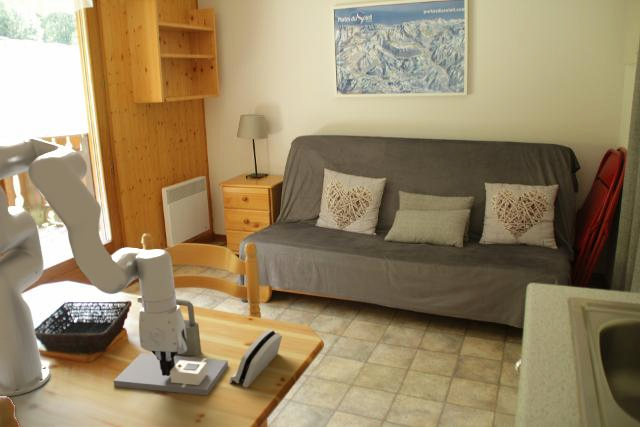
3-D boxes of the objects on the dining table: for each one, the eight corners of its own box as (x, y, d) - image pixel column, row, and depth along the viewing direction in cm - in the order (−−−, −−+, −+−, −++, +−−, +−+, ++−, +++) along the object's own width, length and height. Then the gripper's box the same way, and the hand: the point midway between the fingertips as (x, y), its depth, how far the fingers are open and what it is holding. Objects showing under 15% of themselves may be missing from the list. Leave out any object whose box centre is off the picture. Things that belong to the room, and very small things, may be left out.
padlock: (176, 345, 151) (170, 295, 147) (202, 349, 148) (197, 298, 144) (168, 353, 147) (161, 301, 143) (195, 357, 145) (189, 304, 140)
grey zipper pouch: (260, 350, 147) (270, 319, 143) (276, 358, 146) (286, 327, 142) (228, 384, 132) (237, 351, 128) (245, 393, 131) (255, 360, 127)
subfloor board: (114, 386, 133) (113, 380, 132) (142, 358, 145) (141, 352, 145) (207, 395, 128) (206, 389, 127) (227, 365, 140) (227, 359, 140)
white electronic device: (171, 382, 130) (169, 369, 129) (180, 371, 135) (179, 358, 134) (198, 385, 129) (197, 372, 128) (207, 373, 133) (206, 361, 132)
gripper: (121, 307, 126) (132, 378, 131) (182, 311, 123) (190, 384, 128) (138, 294, 133) (148, 362, 138) (196, 297, 130) (203, 366, 135)
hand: (168, 372), depth 133 cm, fingers closed
